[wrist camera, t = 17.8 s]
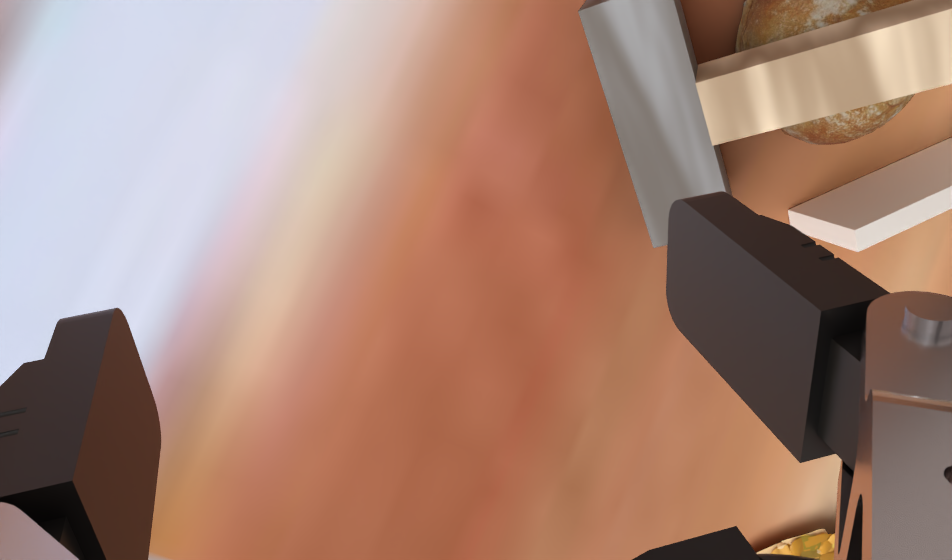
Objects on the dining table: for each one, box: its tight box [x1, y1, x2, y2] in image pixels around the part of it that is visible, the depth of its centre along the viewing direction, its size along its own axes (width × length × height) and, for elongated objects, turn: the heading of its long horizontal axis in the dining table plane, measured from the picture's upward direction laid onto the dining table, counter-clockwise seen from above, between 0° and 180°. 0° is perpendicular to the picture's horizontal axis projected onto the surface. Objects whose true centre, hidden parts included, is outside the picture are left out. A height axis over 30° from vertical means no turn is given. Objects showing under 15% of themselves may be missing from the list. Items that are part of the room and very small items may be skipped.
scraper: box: [578, 0, 952, 248], centre depth 36 cm, size 3×12×18 cm
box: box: [788, 137, 952, 252], centre depth 41 cm, size 13×18×5 cm
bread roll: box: [735, 0, 915, 145], centre depth 41 cm, size 10×10×8 cm
